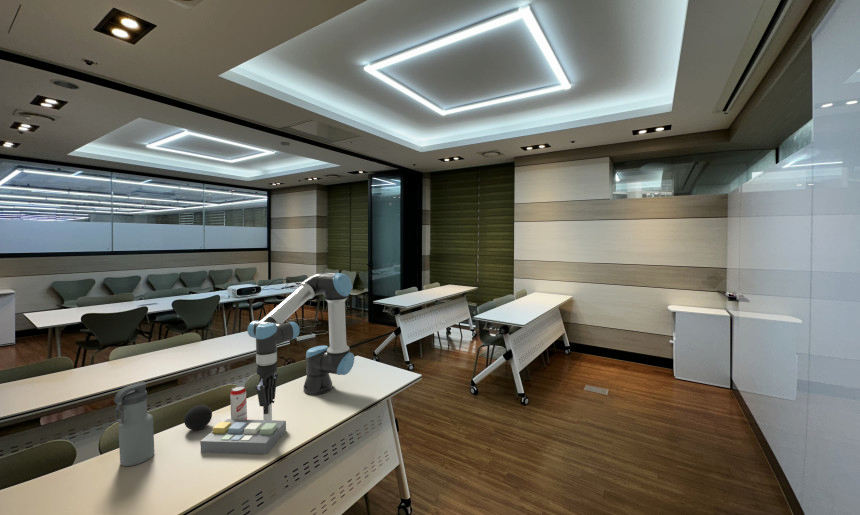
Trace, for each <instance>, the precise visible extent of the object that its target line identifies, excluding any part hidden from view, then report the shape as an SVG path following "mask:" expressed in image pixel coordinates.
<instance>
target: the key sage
mask: <svg viewBox="0 0 860 515" xmlns="http://www.w3.org/2000/svg"><path fill="white" fill-rule="evenodd" d="M276 430H277V423H266V424H265V425H264V426H263V427H262V428H261V429H260V435H272V434H273V433H274V432H275V431H276Z"/></svg>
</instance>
